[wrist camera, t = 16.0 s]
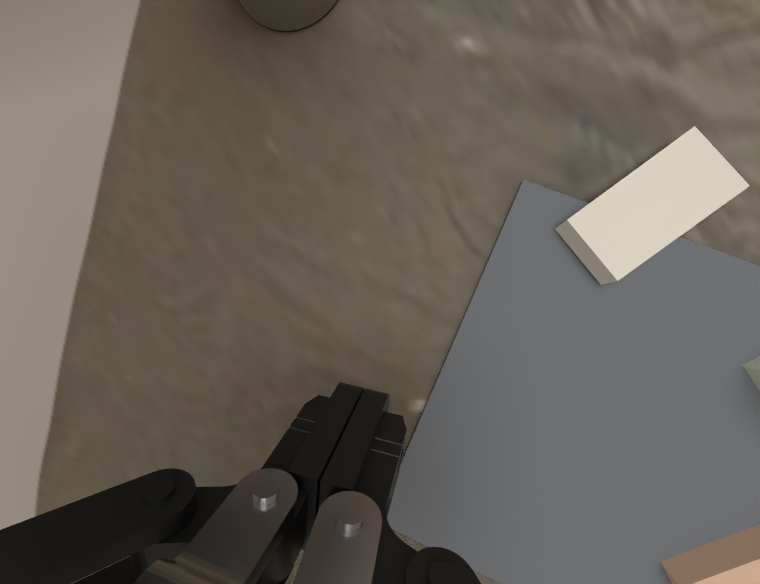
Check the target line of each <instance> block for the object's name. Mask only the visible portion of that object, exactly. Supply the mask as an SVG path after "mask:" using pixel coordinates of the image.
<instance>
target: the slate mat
mask: <svg viewBox="0 0 760 584" xmlns="http://www.w3.org/2000/svg"><path fill="white" fill-rule="evenodd" d="M588 204H589V203H587V202H584V201H581V200H578V199H576V198H573V197H570V196H567V195H565V194H562V193H559V192H556V191H554V190H551V189H548V188H546V187H543V186H540V185H537V184H535V183H532V182H529V181H526V180H524V179H523V181H522V182H521V185H520V187H519V189H518V192H517V194H516V196H515V199H514V201H513V203H512V206H511V208H510V210H509V213H508V215H507V217H506V220H505V222H504V224H503V227H502V229H501V231H500V234H499V236H498V238H497V240H496V243H495V245H494V247H493V250H492V252H491V254H490V257H489V259H488V261H487V264H486V266H485V268H484V271H483V273H482V275H481V278H480V280H479V282H478V285H477V287H476V289H475V292H474V294H473V296H472V299H471V301H470V303H469V306H468V308H467V310H466V313H465V315H464V317H463V320H462V322H461V324H460V327H459V329H458V331H457V334H456V336H455V338H454V341H453V343H452V345H451V347H450V350H449V352H448V354H447V357H446V359H445V361H444V364H443V366H442V368H441V371H440V373H439V375H438V378H437V380H436V382H435V385H434V387H433V389H432V392H431V394H430V396H429V399H428V401H427V403H426V406H425V408H424V410H423V413H422V415H421V417H420V420H419V422H418V424H417V427H416V429H415V431H414V434H413V436H412V438H411V441H410V443H409V445H408V448H407V450H406V452H405V454H404V457H403V459H402V461H401V465H400V471H399V475H398V479H397V482H396V486H395V490H394V494H393V498H392V502H391V506H390V510H389V514H388V517H387V520H388V523H389V525H390V527H391V529H393V530H395V531H397V532H399V533H401V534H403V535H405V536H407V537H409V538H411V539H413V540H415V541H417V542H419V543H421V544H423V545H425V546H427V547H442V548H446V549H448V550H451V551H453V552H455V553H456V554H458V555H459V556H460V557H462V558H463V559H464V560H465V561H466V562H467V563H468V564H469V566H470V567H471V569H472V570H474V571H476V572H478V573H480V574H482V575H484V576H486V577H488V578H490V579H492V580H494V581H496V582H498V583H500V584H672V583H671V581H670V579H669V577H668V575H667V574H666V572H665V570H664V568H663V566H662V564H661V561H663V560H666V559H669V558H671V557H674V556H677V555H679V554H682V553H684V552H687V551H690V550H692V549H695V548H698V547H700V546H703V545H706V544H708V543H711V542H713V541H716V540H719V539H721V538H724V537H727V536H729V535H732V534H735V533H737V532H740V531H742V530H745V529H748V528H750V527H753V526H756V525H758V524H760V390H759V389H758V387H757V386H756V385H755V383H754V382H753V380H752V379H751V377H750V376H749V374H748V373H747V371H746V370H745V369H744V367H743V366H742V365H744V364H746V363H748V362H749V361H751V360H753V359H755V358H757V357H759V356H760V266H759V265H756V264H753V263H751V262H748V261H745V260H742V259H740V258H737V257H734V256H732V255H729V254H726V253H723V252H721V251H718V250H715V249H712V248H710V247H707V246H704V245H701V244H699V243H696V242H693V241H690V240H688V239H685V238H682V237H680V236H679V237H678V238H677V239H675V240H674V241H672V242H671V243H670V244H668V245H667V246H666V247H664V248H663V249H661V250H660V251H659V252H657V253H656V254H654V255H653V256H652V257H650V258H649V259H648V260H646V261H645V262H643V263H642V264H641V265H639V266H638V267H636V268H635V269H634V270H632V271H631V272H630V273H628V274H627V275H625V276H624V277H623V278H621V279H620V280H618V281H616V282H611V283H607V284H602V285H601V284H600V283H599V282H598V281H597V280H596V278H595V277H594V276H593V275H592V273H591V272H590V271H589V270H588V269H587V267H586V266H585V265H584V264H583V263H582V261H581V260H580V259H579V258H578V256H577V255H576V254H575V253H574V252H573V250H572V249H571V248H570V247H569V245H568V244H567V243H566V242H565V241H564V239H563V238H562V237H561V236H560V235H559V233H558V232H557V231H556V230H555V228H557V227H558V226H559V225H561V224H562V223H563V222H565V221H566V220H567V219H569V218H570V217H572V216H573V215H574V214H576V213H577V212H578V211H580V210H581V209H582V208H584V207H585V206H587V205H588Z"/></svg>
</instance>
